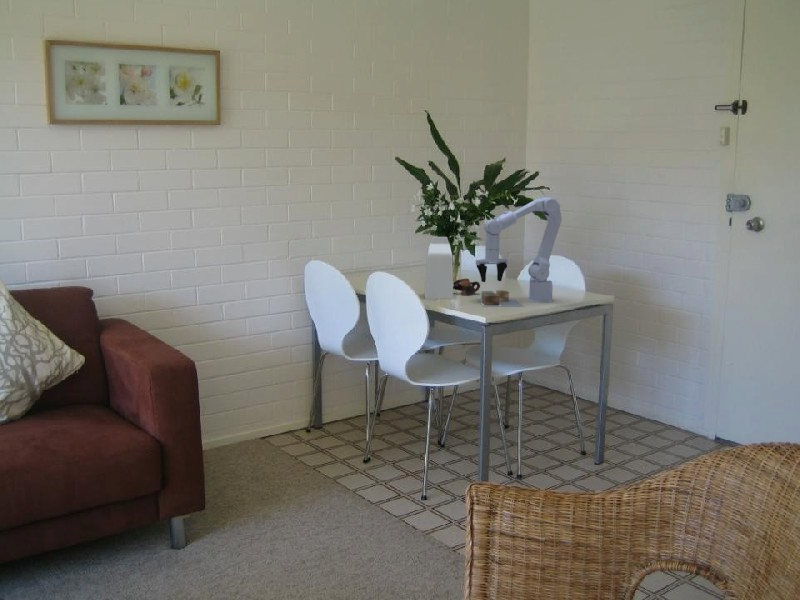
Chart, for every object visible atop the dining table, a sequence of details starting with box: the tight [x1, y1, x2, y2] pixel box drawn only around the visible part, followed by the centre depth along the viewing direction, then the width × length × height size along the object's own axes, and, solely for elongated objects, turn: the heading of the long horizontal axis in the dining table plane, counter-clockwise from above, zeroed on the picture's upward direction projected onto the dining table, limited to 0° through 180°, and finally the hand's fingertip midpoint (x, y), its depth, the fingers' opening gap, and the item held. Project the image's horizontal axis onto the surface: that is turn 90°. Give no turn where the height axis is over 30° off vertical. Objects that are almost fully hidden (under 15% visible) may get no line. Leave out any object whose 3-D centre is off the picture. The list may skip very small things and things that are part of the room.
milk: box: [424, 236, 454, 300], centre depth 383 cm, size 12×12×26 cm
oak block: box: [496, 289, 510, 302], centre depth 376 cm, size 4×4×4 cm
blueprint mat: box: [476, 298, 525, 308], centre depth 371 cm, size 17×18×1 cm
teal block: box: [480, 290, 495, 300], centre depth 374 cm, size 4×4×4 cm
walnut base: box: [481, 292, 500, 306], centre depth 367 cm, size 6×6×4 cm
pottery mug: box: [453, 278, 481, 297], centre depth 392 cm, size 12×10×8 cm
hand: (491, 281), depth 374 cm, fingers open, 7 cm apart
